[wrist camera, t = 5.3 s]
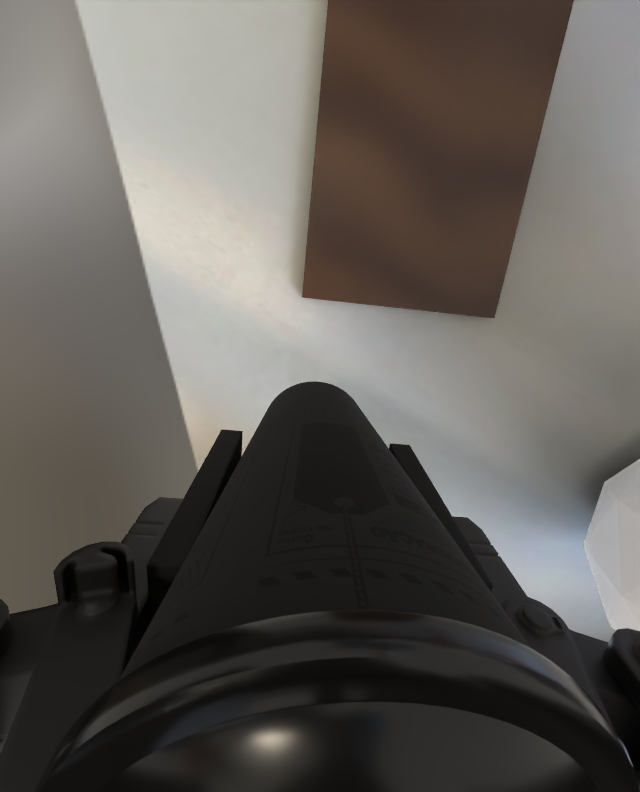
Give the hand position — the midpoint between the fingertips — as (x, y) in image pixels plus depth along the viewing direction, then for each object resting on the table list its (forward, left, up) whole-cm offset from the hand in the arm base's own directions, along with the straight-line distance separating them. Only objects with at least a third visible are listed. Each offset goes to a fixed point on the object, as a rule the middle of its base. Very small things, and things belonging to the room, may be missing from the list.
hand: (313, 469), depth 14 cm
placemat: (-16, +6, -14) cm, 22 cm away
